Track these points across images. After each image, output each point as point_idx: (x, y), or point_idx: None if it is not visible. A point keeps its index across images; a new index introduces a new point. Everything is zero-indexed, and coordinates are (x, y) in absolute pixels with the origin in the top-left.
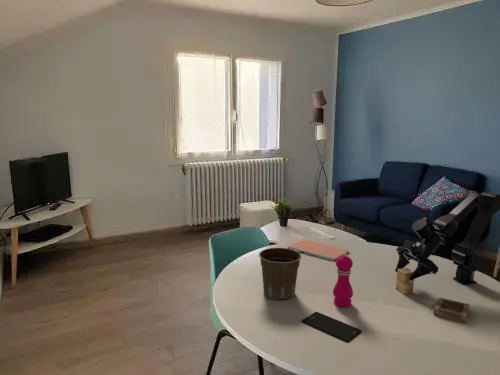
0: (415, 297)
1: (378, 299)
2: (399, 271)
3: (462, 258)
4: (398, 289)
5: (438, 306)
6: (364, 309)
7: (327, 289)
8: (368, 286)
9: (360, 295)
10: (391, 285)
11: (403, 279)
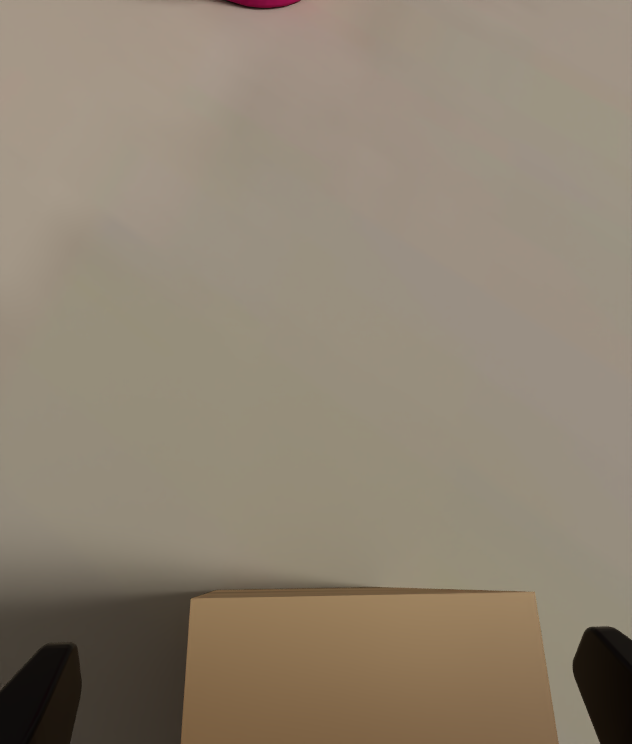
0: None
1: (208, 224)
2: (428, 592)
3: None
4: (330, 588)
5: None
6: (96, 25)
7: (509, 7)
8: (513, 315)
9: (342, 139)
10: None
11: (238, 593)
